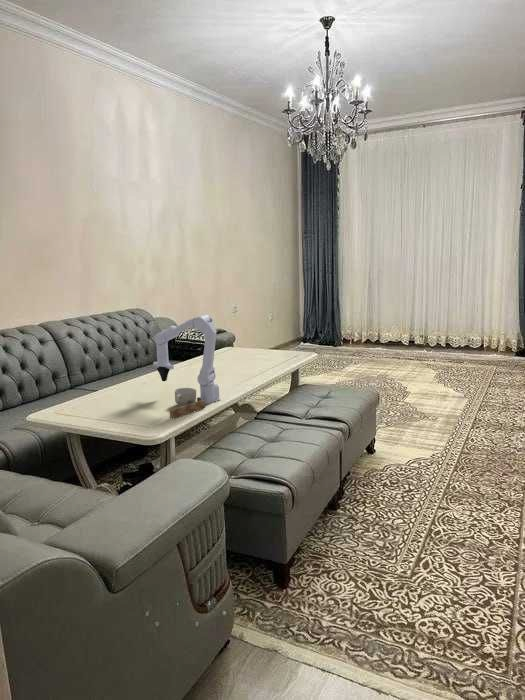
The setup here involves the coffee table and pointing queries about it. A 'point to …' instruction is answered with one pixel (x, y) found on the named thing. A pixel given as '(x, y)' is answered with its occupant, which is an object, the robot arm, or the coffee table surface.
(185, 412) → the stop rail
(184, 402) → the teacup
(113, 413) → the coffee table surface
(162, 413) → the coffee table surface
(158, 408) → the coffee table surface
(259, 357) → the coffee table surface
